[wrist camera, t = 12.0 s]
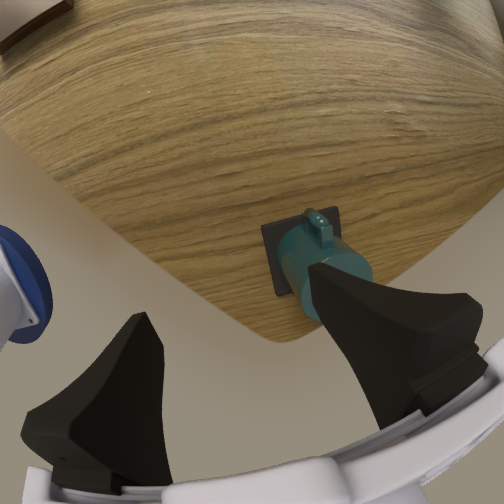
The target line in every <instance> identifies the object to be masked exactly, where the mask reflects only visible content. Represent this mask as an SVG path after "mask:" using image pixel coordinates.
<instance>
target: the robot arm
mask: <svg viewBox="0 0 504 504" xmlns="http://www.w3.org/2000/svg"><path fill="white" fill-rule="evenodd" d="M308 274H309V281H310V289H311V297H312V304H313V306H314V308H315V310H316V312H317V314H318V316H319V318H320V320H321V322H322V323H323V325H324V326H325V328H326V329H327V331H328V332H329V333H330V335H331V336H332V338H333V339H334V341H335V342H336V343H337V345H338V347H339V348H340V349H341V351H342V352H343V353H344V355H345V357H346V358H347V360H348V362H349V363H350V365H351V367H352V369H353V371H354V373H355V375H356V377H357V379H358V381H359V383H360V385H361V387H362V389H363V391H364V393H365V395H366V398H367V400H368V402H369V404H370V406H371V409H372V411H373V414H374V416H375V418H376V421H377V424H378V426H379V428H380V431H378V432H376V433H374V434H372V435H370V436H368V437H366V438H363V439H361V440H359V441H357V442H355V443H352V444H350V445H347V446H345V447H343V448H340V449H338V450H335V451H332V452H330V453H327V454H324V455H322V456H317V457H307V458H303V459H299V460H294V461H290V462H286V463H282V464H279V465H275V466H271V467H268V468H263V469H259V470H254V471H250V472H245V473H240V474H235V475H229V476H223V477H216V478H209V479H200V480H191V481H185V482H179V483H173V480H172V477H171V473H170V469H169V464H168V459H167V454H166V448H165V441H164V433H163V422H162V395H163V381H164V366H165V363H164V347H163V344H162V342H161V340H160V338H159V337H158V335H157V333H156V331H155V329H154V327H153V325H152V324H151V322H150V320H149V318H148V316H147V314H146V312H141V313H137V314H133V315H132V316H131V317H130V318H129V319H128V321H127V322H126V323H125V324H124V326H123V327H122V328H121V329H120V331H119V332H118V333H117V334H116V336H115V337H114V338H113V340H112V341H111V342H110V344H109V345H108V346H107V347H106V348H105V349H104V351H103V352H102V353H101V354H100V355H99V357H98V358H97V359H96V360H95V361H94V363H92V364H91V366H90V367H89V368H88V369H87V370H86V371H85V372H84V373H83V374H82V375H81V376H79V377H78V378H77V379H76V380H75V381H74V382H72V383H71V384H70V385H69V386H68V387H67V388H65V389H64V390H63V391H61V392H60V393H59V394H57V395H56V396H54V397H53V398H52V399H50V400H48V401H47V402H45V403H43V404H42V405H40V406H38V407H36V408H35V409H33V410H31V411H29V412H28V413H27V416H26V419H25V421H24V425H23V427H22V431H21V438H22V440H23V442H24V443H25V444H26V445H27V446H28V447H29V448H30V449H31V450H33V451H34V452H35V453H36V454H38V455H39V456H40V457H42V458H43V459H44V460H46V461H47V462H48V463H50V464H51V465H53V472H52V471H49V470H47V469H44V468H39V467H35V466H31V465H30V466H29V467H28V471H27V476H26V481H25V487H24V492H23V499H22V504H430V503H429V501H428V499H427V497H426V495H425V494H424V492H423V490H422V488H421V487H422V486H424V485H425V484H427V483H428V482H430V481H431V480H433V479H434V478H436V477H437V476H439V475H440V474H441V473H443V472H444V471H445V470H447V469H448V468H450V467H451V466H452V465H453V464H455V463H456V462H457V461H459V460H460V459H461V458H462V457H464V456H465V455H466V454H467V453H468V452H470V451H471V450H472V449H473V448H474V447H475V446H477V445H478V444H479V443H480V442H481V441H482V440H483V439H484V438H485V437H487V436H488V435H489V434H490V433H491V432H492V431H493V430H494V429H495V428H496V427H497V426H498V425H499V424H500V423H501V422H502V421H503V420H504V338H501V339H499V340H498V341H497V342H496V343H495V344H494V345H493V346H492V347H491V348H489V349H488V350H487V351H486V352H485V354H484V355H483V356H482V357H481V356H480V355H479V354H478V353H477V352H478V351H479V347H478V346H477V345H476V344H475V343H474V341H475V338H476V336H477V333H478V331H479V328H480V325H481V322H482V318H483V309H482V306H481V304H479V303H478V302H477V301H476V300H474V299H473V298H472V297H471V296H469V295H468V294H467V293H454V294H433V293H421V292H412V291H406V290H400V289H396V288H391V287H387V286H383V285H380V284H376V283H373V282H370V281H367V280H364V279H362V278H359V277H356V276H354V275H351V274H349V273H347V272H344V271H342V270H339V269H337V268H335V267H332V266H330V265H328V264H325V263H323V262H318V263H315V264H312V265H309V266H308ZM39 321H40V319H39V317H38V315H37V313H36V312H35V310H34V308H33V307H32V305H31V303H30V301H29V300H28V298H27V296H26V294H25V292H24V291H23V289H22V287H21V285H20V283H19V281H18V279H17V277H16V275H15V273H14V271H13V269H12V267H11V265H10V262H9V260H8V258H7V256H6V253H5V251H4V249H3V247H2V245H1V244H0V352H1V350H2V348H3V347H4V345H5V344H6V342H7V340H8V339H9V337H10V336H11V334H12V333H13V331H14V330H16V329H20V328H24V327H28V326H32V325H36V324H38V323H39Z"/></svg>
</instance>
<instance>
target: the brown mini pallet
mask: <svg viewBox="0 0 504 504" xmlns="http://www.w3.org/2000/svg"><path fill="white" fill-rule="evenodd" d="M72 8H73V0H0V55H2V54H3V53H4V52H5V51H7V50H8V49H9V48H11V47H12V46H13V45H15V44H16V43H17V42H19V41H20V40H22V39H23V38H24V37H26V36H27V35H29V34H30V33H32V32H33V31H35V30H36V29H38V28H39V27H41V26H43V25H44V24H46V23H47V22H49V21H51V20H53V19H54V18H56V17H58V16H59V15H61V14H63V13H65V12H67V11H69V10H71V9H72Z"/></svg>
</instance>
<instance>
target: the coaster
mask: <svg viewBox="0 0 504 504" xmlns="http://www.w3.org/2000/svg"><path fill="white" fill-rule="evenodd" d="M317 212H319V213H320V214H322V215H323V216H325V217H326V218H327V219H328V221H329V224H331V225H332V228H333V233H334V234H335V235H336V236H338V237H339V238H340V239H341V230H340V220H339V211H338V207H337V206H333V207H329V208H325V209H321V210H317ZM300 224H303V220H302V215H298V216H295V217H291V218H287V219H283V220H280V221H276V222H272V223H269V224H265V225H261V230H262V234H263V238H264V243H265V247H266V252H267V256H268V261H269V265H270V270H271V274H272V279H273V284H274V288H275V293H276V295H277V296H280V295H283V294H286V293H289V292H292V290H291V288H290V286H289V285H288V283H287V281H286V279H285V278H284V276H283V274H282V273H281V271H280V269H279V267H278V264H277V259H276V254H277V249H278V246H279V243H280V241H281V240H282V238H283V237H284V236H285V234H286V233H287V232H288V231H290V230H291V229H292V228H294V227H296V226H298V225H300Z"/></svg>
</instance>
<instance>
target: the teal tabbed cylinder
mask: <svg viewBox="0 0 504 504" xmlns="http://www.w3.org/2000/svg"><path fill="white" fill-rule="evenodd" d="M301 214H302V220H303V224H300V225H298V226H296V227H294V228H292V229H291V230H290V231H288V232H287V233H286V234H285V236H284V237H283V238H282V240H281V241H280V243H279V246H278V249H277V254H276V259H277V264H278V267H279V269H280V271H281V273H282V274H283V276H284V278H285V279H286V281H287V283H288V285H289V286H290V288H291V290H292V291H293V293H294V295H295V297H296V298H297V300H298V302H299V303H300V305H301V307H302V309H303V310H304V312H305V313H306V315H307V316H308V317H310V318H311V319H313V320H315V321H317V322H321V320H320V318H319V316H318V314H317V312H316V310H315V308H314V306H313V304H312V297H311V289H310V281H309V274H308V266H309V265H312V264H315V263H318V262H323V263H325V264H328V265H330V266H332V267H335V268H337V269H339V270H342V271H344V272H347V273H349V274H351V275H354V276H356V277H359V278H362V279H364V280H367V281H370V282H372V281H373V274H372V269H371V267H370V265H369V263H368V262H367V260H366V259H365V258H363V257H362V256H361V255H360V254H359V253H357V252H356V251H355V250H354V249H352V248H351V247H350V246H349V245H348V244H346V243H345V242H344V241H343V240H341V239H340V238H339V237H338V236H336V235H335V234H334V233H333V228H332V225H331V224H329V221H328V219H327V218H326V217H325V216H323V215H322V214H320V213H319V212H317V211H316V210H314V209H313V208H307V209H306V210H305V211H304V213H301Z"/></svg>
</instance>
